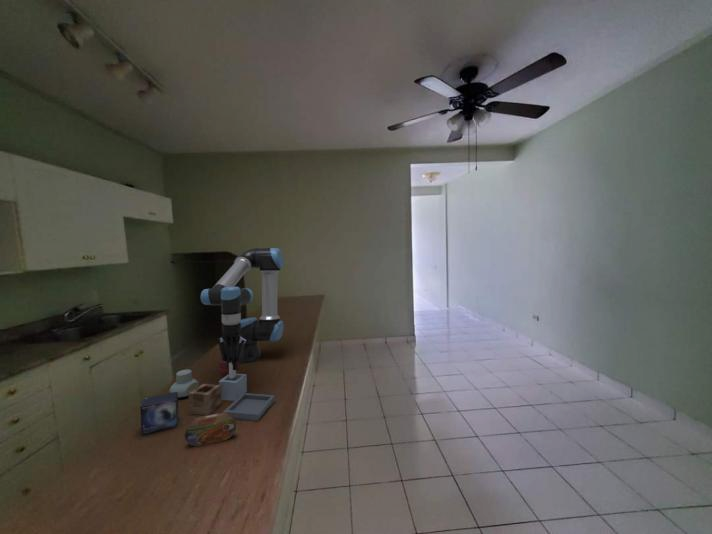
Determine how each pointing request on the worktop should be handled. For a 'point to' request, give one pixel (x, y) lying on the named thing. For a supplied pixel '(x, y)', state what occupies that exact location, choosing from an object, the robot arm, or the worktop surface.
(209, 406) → the brown open cube box
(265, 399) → the tray
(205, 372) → the worktop surface
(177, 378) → the air freshener
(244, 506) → the worktop surface
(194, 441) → the tin
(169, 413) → the small box
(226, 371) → the mechanical component
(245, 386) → the block
